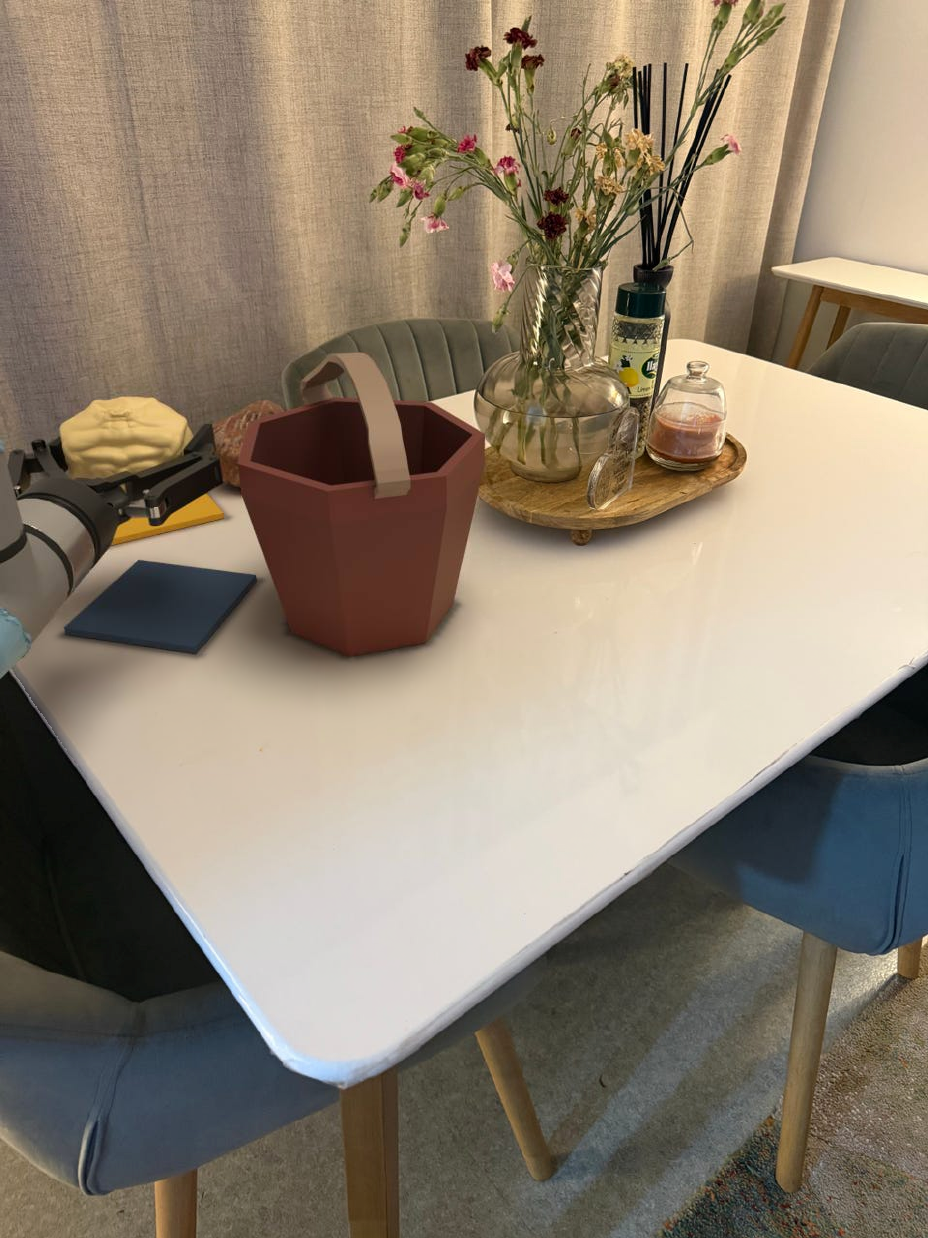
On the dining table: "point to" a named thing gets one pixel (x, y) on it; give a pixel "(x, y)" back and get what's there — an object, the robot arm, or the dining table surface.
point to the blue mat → (163, 606)
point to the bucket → (362, 508)
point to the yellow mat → (170, 521)
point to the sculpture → (122, 437)
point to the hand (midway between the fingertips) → (147, 434)
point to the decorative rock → (237, 436)
